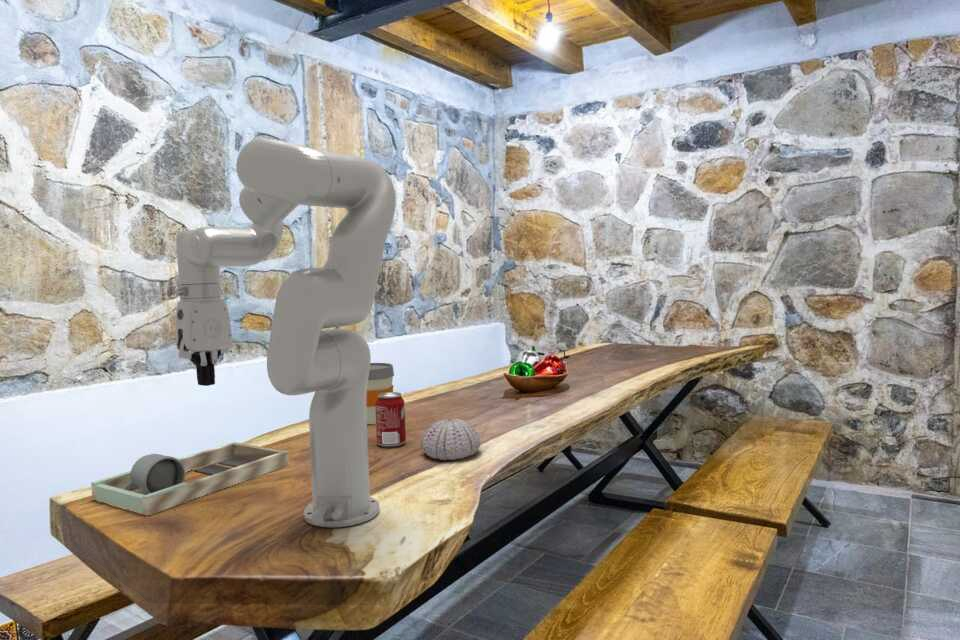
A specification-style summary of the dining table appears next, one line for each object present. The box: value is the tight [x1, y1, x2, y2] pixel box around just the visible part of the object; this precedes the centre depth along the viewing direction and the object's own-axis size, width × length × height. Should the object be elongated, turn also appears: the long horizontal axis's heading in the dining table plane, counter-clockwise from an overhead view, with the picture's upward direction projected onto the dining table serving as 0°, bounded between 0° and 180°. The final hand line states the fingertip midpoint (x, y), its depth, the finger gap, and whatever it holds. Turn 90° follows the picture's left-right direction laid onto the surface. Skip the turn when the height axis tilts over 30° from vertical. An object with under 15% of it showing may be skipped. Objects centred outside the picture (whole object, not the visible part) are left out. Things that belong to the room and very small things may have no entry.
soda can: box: [375, 391, 407, 448], centre depth 154 cm, size 7×7×12 cm
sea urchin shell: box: [420, 418, 482, 461], centre depth 146 cm, size 13×14×8 cm
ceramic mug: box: [122, 453, 186, 495], centre depth 123 cm, size 11×8×8 cm
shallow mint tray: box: [90, 470, 189, 514], centre depth 121 cm, size 8×17×3 cm, turn 59°
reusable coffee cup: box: [366, 362, 395, 425], centre depth 179 cm, size 13×13×15 cm
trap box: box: [91, 441, 290, 515], centre depth 131 cm, size 32×17×3 cm, turn 149°
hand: (206, 384), depth 132 cm, fingers closed
